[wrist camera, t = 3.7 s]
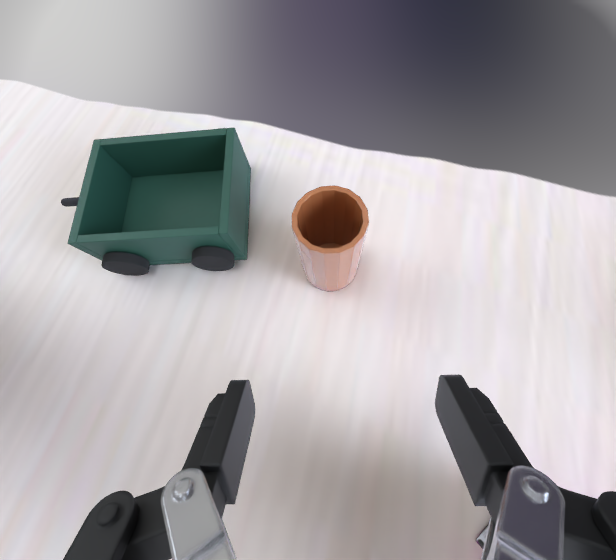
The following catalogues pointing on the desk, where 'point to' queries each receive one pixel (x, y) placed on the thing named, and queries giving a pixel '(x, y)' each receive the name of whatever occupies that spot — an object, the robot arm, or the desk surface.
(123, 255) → the cart wheels
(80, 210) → the cart
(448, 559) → the desk surface
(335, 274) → the orange cup
